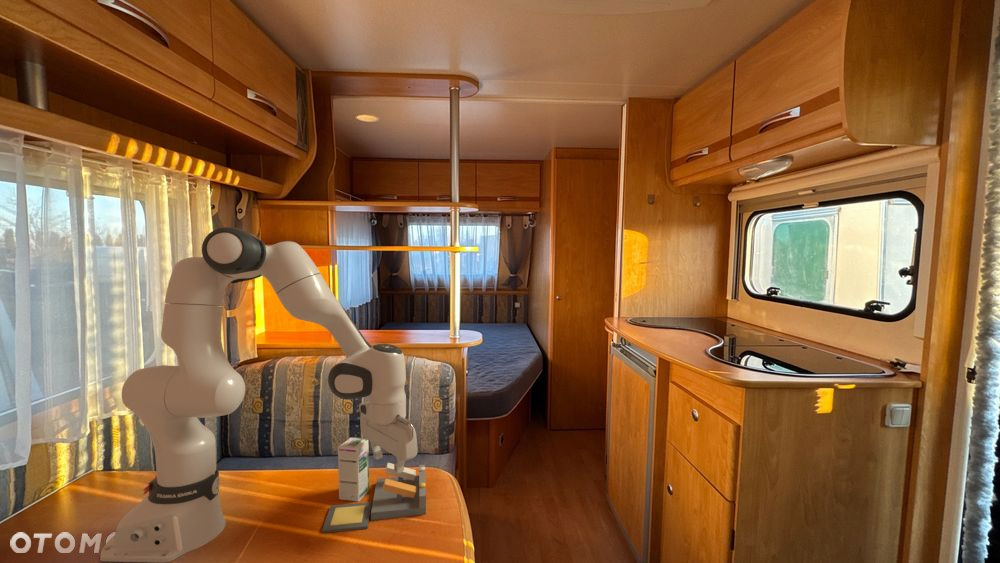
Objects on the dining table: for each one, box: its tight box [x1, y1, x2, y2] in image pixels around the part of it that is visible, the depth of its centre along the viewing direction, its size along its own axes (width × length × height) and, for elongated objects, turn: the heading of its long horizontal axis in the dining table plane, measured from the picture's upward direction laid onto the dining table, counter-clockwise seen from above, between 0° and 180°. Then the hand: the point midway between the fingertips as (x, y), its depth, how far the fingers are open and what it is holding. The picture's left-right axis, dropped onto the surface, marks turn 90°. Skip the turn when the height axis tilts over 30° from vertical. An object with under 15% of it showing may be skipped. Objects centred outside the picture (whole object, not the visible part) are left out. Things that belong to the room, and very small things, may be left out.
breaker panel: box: [370, 464, 427, 522], centre depth 113 cm, size 13×16×6 cm
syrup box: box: [337, 437, 370, 503], centre depth 115 cm, size 6×6×14 cm
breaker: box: [384, 462, 417, 481], centre depth 118 cm, size 8×3×2 cm, turn 101°
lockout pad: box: [321, 501, 373, 534], centre depth 105 cm, size 10×10×1 cm
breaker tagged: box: [383, 479, 416, 498], centre depth 110 cm, size 8×3×2 cm, turn 101°
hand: (388, 464), depth 108 cm, fingers open, 8 cm apart
